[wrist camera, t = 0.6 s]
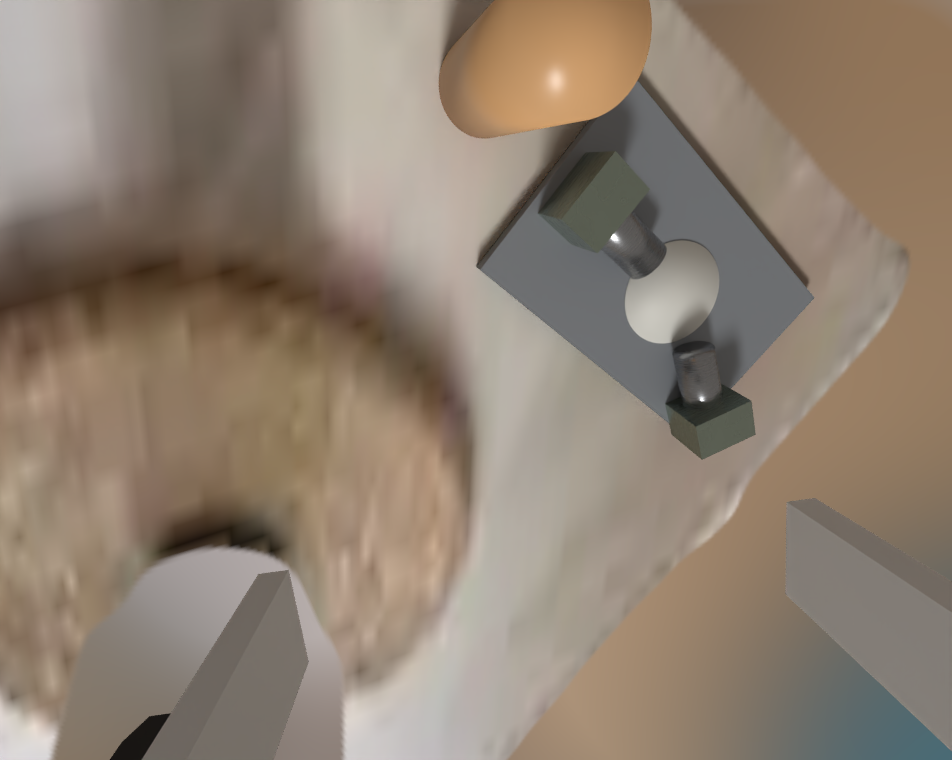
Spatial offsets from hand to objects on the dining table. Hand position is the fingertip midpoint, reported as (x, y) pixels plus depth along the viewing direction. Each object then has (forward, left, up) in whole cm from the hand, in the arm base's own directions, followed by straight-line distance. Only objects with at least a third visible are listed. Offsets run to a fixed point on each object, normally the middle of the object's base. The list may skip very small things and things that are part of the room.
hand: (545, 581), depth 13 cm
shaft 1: (+4, +12, -21) cm, 25 cm away
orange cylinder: (-6, +13, -22) cm, 27 cm away
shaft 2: (+19, +8, -21) cm, 29 cm away
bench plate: (+11, +12, -22) cm, 28 cm away
